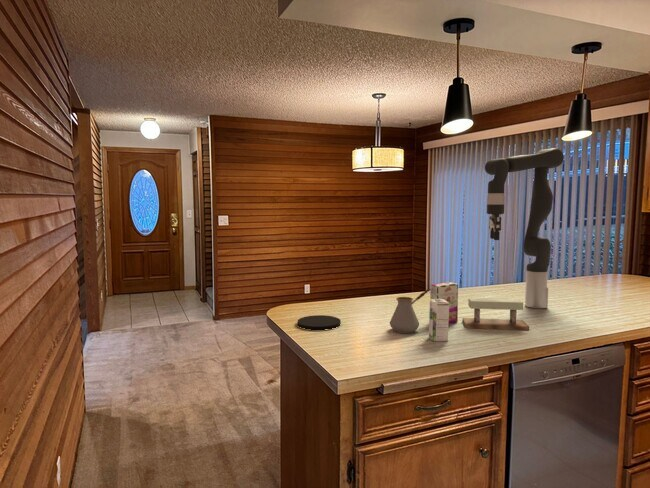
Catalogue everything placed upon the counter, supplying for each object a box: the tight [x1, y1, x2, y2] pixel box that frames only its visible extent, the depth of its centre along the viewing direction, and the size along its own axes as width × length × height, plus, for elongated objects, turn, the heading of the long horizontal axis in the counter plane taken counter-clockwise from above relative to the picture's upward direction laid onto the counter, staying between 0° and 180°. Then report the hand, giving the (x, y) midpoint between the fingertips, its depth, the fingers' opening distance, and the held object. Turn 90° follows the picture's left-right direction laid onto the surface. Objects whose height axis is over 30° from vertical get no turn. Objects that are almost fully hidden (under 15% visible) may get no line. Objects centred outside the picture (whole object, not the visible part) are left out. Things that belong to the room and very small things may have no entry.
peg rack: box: [462, 309, 530, 331], centre depth 185 cm, size 24×10×8 cm, turn 80°
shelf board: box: [467, 297, 524, 311], centre depth 184 cm, size 20×6×3 cm, turn 82°
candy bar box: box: [429, 281, 459, 324], centre depth 190 cm, size 11×5×16 cm, turn 117°
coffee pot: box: [389, 288, 432, 334], centre depth 181 cm, size 21×12×15 cm, turn 128°
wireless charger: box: [297, 314, 342, 331], centre depth 188 cm, size 18×18×2 cm
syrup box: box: [428, 299, 450, 342], centre depth 167 cm, size 6×6×14 cm
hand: (494, 239), depth 207 cm, fingers open, 8 cm apart
